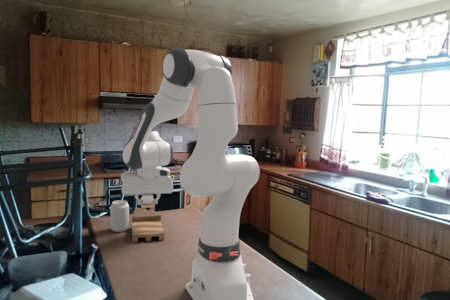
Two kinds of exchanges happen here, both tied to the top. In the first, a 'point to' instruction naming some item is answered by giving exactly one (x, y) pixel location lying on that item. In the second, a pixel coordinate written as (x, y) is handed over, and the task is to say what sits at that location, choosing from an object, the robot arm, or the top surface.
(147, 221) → the dock
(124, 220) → the can
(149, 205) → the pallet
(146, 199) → the white rectangular block
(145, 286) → the top surface
